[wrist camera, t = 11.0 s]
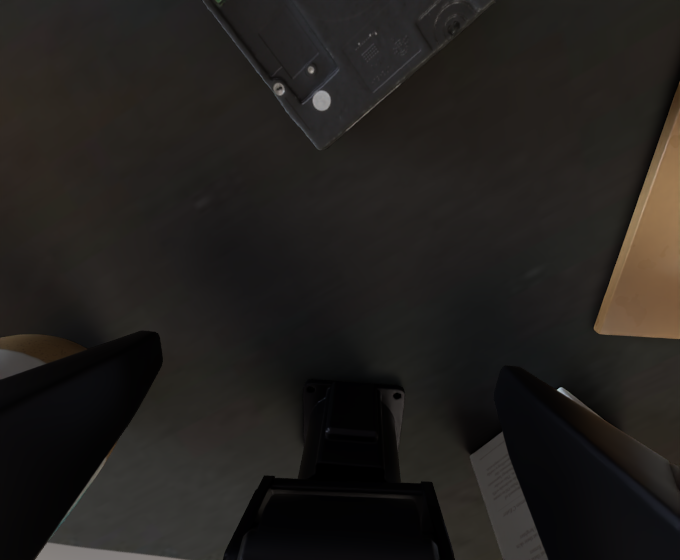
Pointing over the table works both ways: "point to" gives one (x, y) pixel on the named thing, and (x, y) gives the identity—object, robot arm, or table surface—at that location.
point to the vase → (37, 364)
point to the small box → (508, 499)
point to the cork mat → (650, 250)
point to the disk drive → (340, 51)
